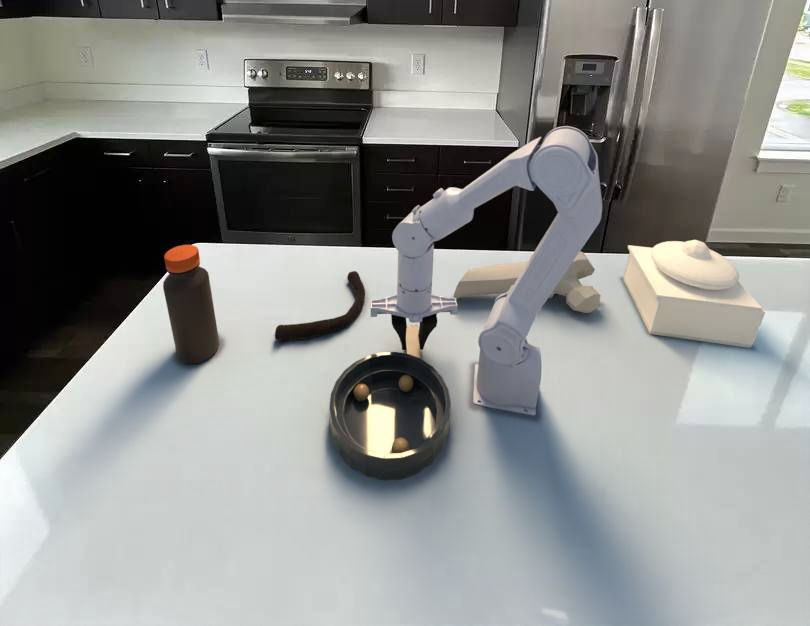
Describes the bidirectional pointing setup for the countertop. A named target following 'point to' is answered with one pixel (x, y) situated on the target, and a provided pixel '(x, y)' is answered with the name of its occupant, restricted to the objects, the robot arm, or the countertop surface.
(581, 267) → the faceted mallet
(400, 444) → the bead
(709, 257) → the butter dish
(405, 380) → the bead
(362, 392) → the bead
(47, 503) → the countertop surface
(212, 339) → the bottle
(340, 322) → the branch
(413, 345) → the block
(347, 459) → the bowl
